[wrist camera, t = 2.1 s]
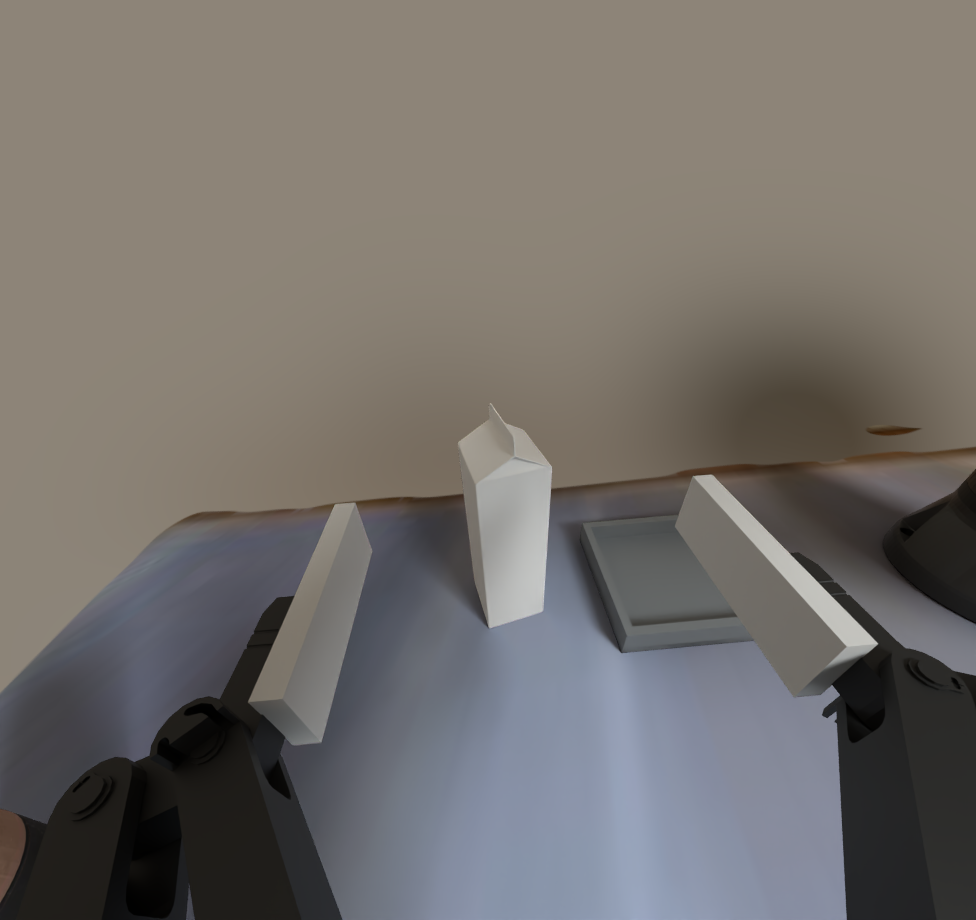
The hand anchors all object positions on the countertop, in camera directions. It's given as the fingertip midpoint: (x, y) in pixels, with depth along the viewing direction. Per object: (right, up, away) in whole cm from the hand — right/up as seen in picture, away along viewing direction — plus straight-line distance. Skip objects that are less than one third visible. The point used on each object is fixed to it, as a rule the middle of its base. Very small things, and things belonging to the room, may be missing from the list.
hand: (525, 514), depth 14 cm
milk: (+1, -13, +24) cm, 28 cm away
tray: (+19, -11, +25) cm, 33 cm away
